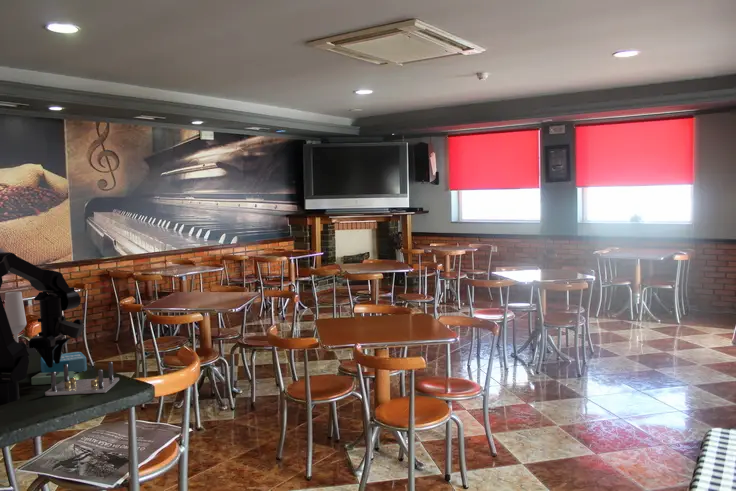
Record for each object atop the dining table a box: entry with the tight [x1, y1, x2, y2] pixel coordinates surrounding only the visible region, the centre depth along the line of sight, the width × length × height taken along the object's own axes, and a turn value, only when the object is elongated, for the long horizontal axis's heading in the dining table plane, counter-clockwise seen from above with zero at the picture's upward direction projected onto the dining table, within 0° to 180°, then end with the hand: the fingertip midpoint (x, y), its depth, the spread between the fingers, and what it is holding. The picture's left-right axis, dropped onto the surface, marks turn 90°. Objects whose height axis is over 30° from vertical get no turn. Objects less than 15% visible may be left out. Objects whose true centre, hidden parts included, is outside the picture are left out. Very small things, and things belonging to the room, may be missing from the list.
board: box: [30, 371, 75, 386], centre depth 183 cm, size 6×10×3 cm, turn 96°
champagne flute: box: [4, 291, 28, 342], centre depth 208 cm, size 7×7×24 cm
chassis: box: [44, 361, 120, 397], centre depth 174 cm, size 12×16×6 cm
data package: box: [39, 351, 88, 373], centre depth 194 cm, size 12×4×12 cm
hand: (54, 365), depth 183 cm, fingers open, 4 cm apart
